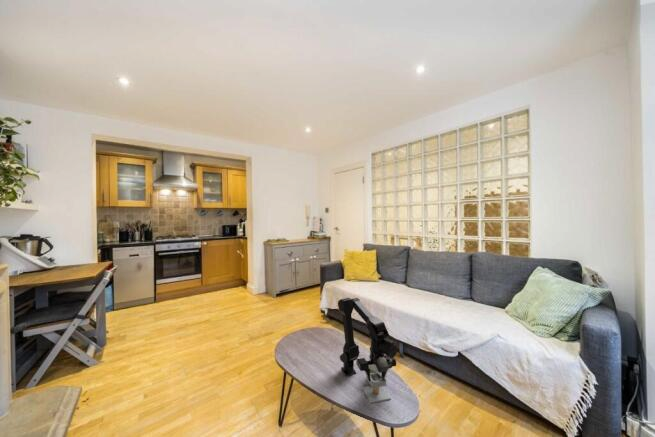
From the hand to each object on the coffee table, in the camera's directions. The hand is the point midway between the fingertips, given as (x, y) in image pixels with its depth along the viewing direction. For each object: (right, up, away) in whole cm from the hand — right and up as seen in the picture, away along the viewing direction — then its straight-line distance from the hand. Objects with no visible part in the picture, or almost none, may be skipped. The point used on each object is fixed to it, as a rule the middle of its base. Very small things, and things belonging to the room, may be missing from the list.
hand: (376, 379), depth 120 cm
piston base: (0, -7, 0) cm, 7 cm away
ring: (0, -1, 0) cm, 1 cm away
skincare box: (+4, -7, +13) cm, 16 cm away
